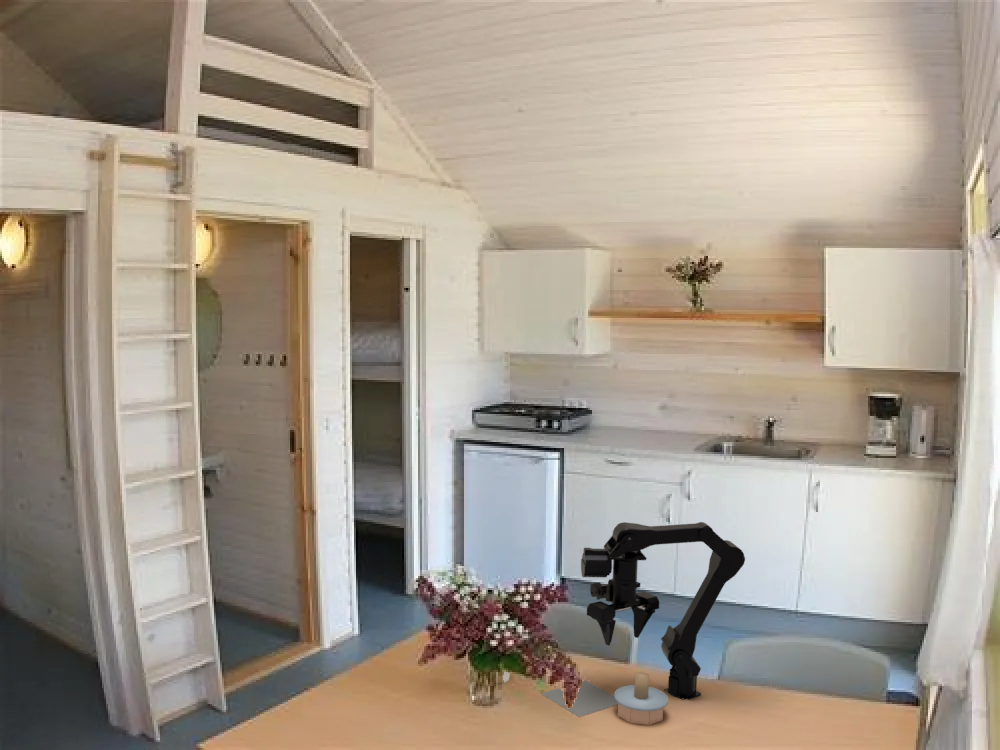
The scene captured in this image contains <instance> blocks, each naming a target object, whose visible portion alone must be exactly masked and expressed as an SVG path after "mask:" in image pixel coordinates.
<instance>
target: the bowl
mask: <svg viewBox="0 0 1000 750" xmlns="http://www.w3.org/2000/svg"><path fill="white" fill-rule="evenodd" d="M617 717H619V718H621V719H623V720H625V721H626V722H628V723H630V724H637V725H645V726H649V725H654V724H656V723H659V722H662V721H663V720H664V718H663V717H664V708H662V709H659V710H655V711H639V710H633V709H630V708H627V707H624V706H622V705H620V704H619V703H618V705H617Z"/></svg>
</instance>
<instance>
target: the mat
mask: <svg viewBox="0 0 1000 750" xmlns="http://www.w3.org/2000/svg"><path fill="white" fill-rule="evenodd" d="M581 682H582V686H581V688H580V689H579V692H578V696H577V699H576V700H575V703H574V704H573V707H572V708H570V709H567V708H566V705H565V701H564V698H563V691H561V689H559V688H560V687H559V688H555V689H552V690H549V691H548V690H547V691H545V692H542V693H540V694H541V695H542V696H544V697H545V698H547V699H549V700H550V701H552V702H553V703H555V704H557V705H558V706H560V707H562V708H563V709H565V710H566V711H567V712H569V713H571V714H572V715H575V716H577V717H578V718H582V717H584V716H587V715H590V714H591V715H592V714H593V713H597V712H600V711H602V710H603V711H604V710H606V709H609V708H612V707H617V706H618V702H617V701H616V700H615V698H614V694H611V693H609V692H608V691H605V690H604V689H602V688H600V687H598V686H597V685H594V684H593V683H591V682H589V681H587V680H583V681H581Z"/></svg>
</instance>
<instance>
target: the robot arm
mask: <svg viewBox="0 0 1000 750" xmlns="http://www.w3.org/2000/svg"><path fill="white" fill-rule="evenodd" d="M686 543H704V544H705V545H706V546H707V547H708V548H709V549H711V551H712V552H711V554H710V558H709V563H708V569H707V573H706V575H705V577H704V579H703V581H702V582H701V584H700V587H699V588H698V589H697V591H696V594H695V595H694V597H693V599H692V600H691V602H690V605H689V606H688V608H687V610H686V612H685V614H684V616H683V617H682V619H681V620H680V622H679V624H677V625H676V626H674V627H673V626H671V625H668V627H667V629H666V632H665V633H664V635H663V636H662V637H661V638H660V639H661V641H662V642H661V645H660V646H661V651H662V653H663V655H664V657H665V658H666V660H667V661H668V662H669V664H670V665H671V668H670V669H669V676H668V681H667V682H668V683H667V684H668V687H667V688H664V689H663V691H664V692H666V693H667V694H669V695H671V696H674V697H677V698H678V699H680V700H684V701H685V700H689V701H690V700H692V699H694V698H697V697H700V696H702V692H699V690H697V684H698V683H697V682H698V677H699V674H700V671H701V669H702V668H701V667H700V665H699V663H698V662H697V660H696V659H695V658H694V657H693V655H694V653H695V649H696V643H697V635H698V634H699V631H700V630H701V628H702V626H703V624H704V622H705V621H706V619H707V617H708V615H709V614H710V612H711V610H712V608H713V606H714V605H715V602H716V601H717V598H718V597H719V595H720V594H721V591H723V588H724V586H725V585H726V583H727V582H729V581H730V580H732V579H733V578H734V577H735V576H736V575H737V574H738V573H739V571H741V568H743V566H744V565H745V562H746V557H745V554H744V551H743V550H742V549H741V548H739V547H738V546H737V545H736V544H735V543H733V542H732V541H731V540H728V539H727V540H724V539H723V538H722V537H721V536H720V535H718V534H717V533H716V532H715V531H714V530H713V528H712V527H711V526H710V525H709V524H707V523H706V522H702V521H699V522H696V523H682V524H681V523H680V524H669V525H668V524H665V525H651V526H650V525H645V524H641V523H636V522H635V523H634V522H624V521H623V522H620V523H618V524H617V525H616V526H615V527H614V528H613V530H612V534H611V536H610V537H609V539H608V540H607V542H605V544H604V545H603V548H592V547H584V548H583V553H582V556H581V559H580V570H581V571H580V572H581V577H582V578H607V577H608V576H610V574H612V578H610V579H609V580H608V581H607V583H606V584H601V582H593V583H590V589H589V591H590V596H591V597H592V598H595V597H596V600H600V601H596V602H590V603H589V604H588V605H587V606H586V616H588V617H590V618H591V619H594V620H596V622H597V623H598V625H599V628H600V630H601V633H602V637H603V640H604V643H605V645H607V646H611V643H612V639H613V635H614V631H615V628H616V627H615V626H616V622H617V621H616V620H615V617H616V613H617V612H622V611H626V610H630V609H631V611H632V613H633V637H634V638H636V639H639V637H640V635H641V634H642V632H643V630H644V629H645V626H646V624H648V622H649V620H650V619H651V617H652V615H653V614H655V613H656V610H658V609H660V599H659V597H658V596H657V595H654V594H652V593H650V592H647V591H640V592H637V589H638V588H641V582H638V563H639V562H638V561H647V557H646V555H645V554H644V553H643V552H642V550H645V549H647V548H649V547H652V546H656V545H657V546H658V545H669V544H670V545H671V544H686ZM601 599H605V602H608V603H609V604H608V603H605V602H604V601H601ZM610 603H611V604H610Z"/></svg>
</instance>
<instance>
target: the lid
mask: <svg viewBox="0 0 1000 750" xmlns="http://www.w3.org/2000/svg"><path fill="white" fill-rule="evenodd" d="M633 684H634V685H633ZM633 684H630V685H624V686H621V687H619V688H617V689H616V690H615V691H614V694H613V696H614V698H615V700H616V701H617V702H618V703H619V704H620V705H622V706H624V707H627V708H630V709H633V710H639V711H655V710H659V709H662V708H663V709H664V708H665V707H667V706H668V703H669V696H668V695H667V694H666V693H664V692H663V691H662V690H660V689H658V688H656V687H652V686H650V674H649V673H647V672H643V671H637V672H635V673H634V683H633Z"/></svg>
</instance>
